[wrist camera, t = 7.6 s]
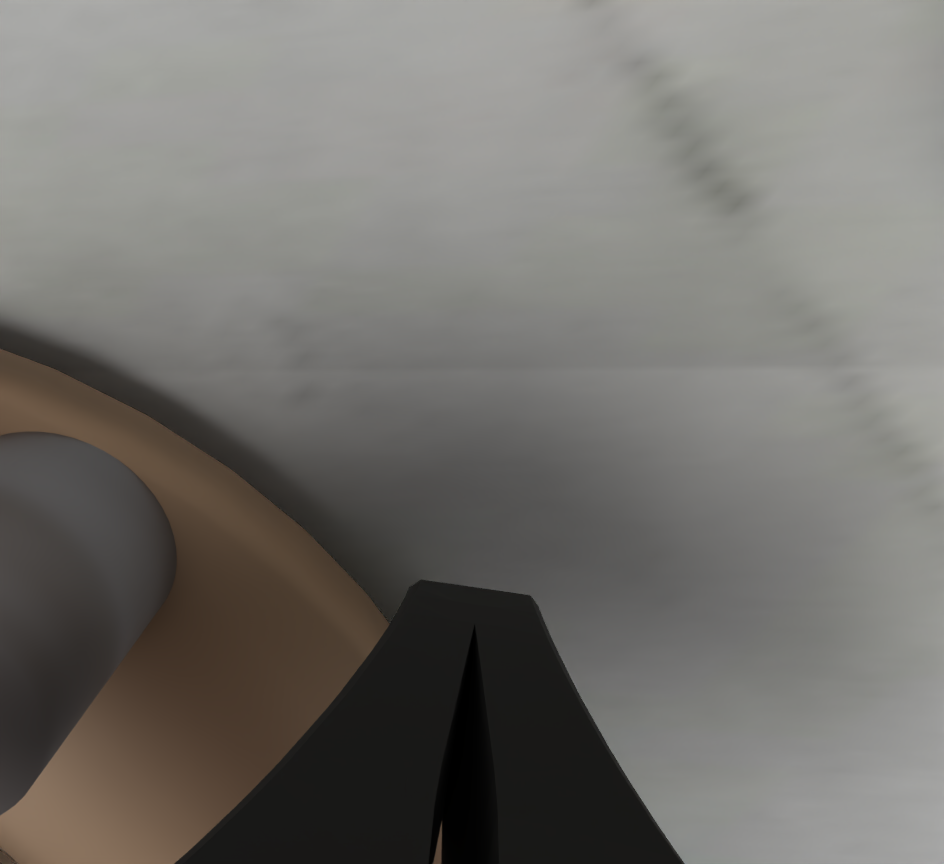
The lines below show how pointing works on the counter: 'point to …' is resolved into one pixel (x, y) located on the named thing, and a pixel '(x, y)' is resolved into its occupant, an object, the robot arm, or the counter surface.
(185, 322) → the counter surface
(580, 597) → the counter surface
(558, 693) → the robot arm
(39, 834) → the disc
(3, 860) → the cover
